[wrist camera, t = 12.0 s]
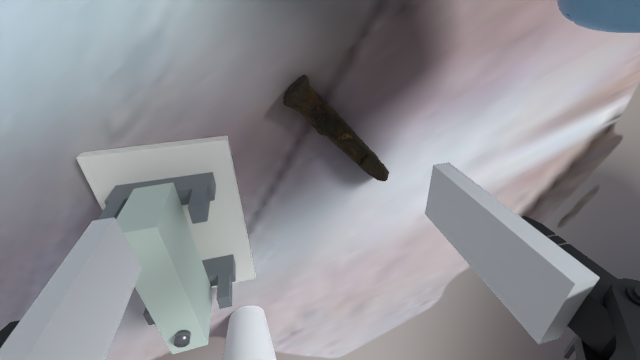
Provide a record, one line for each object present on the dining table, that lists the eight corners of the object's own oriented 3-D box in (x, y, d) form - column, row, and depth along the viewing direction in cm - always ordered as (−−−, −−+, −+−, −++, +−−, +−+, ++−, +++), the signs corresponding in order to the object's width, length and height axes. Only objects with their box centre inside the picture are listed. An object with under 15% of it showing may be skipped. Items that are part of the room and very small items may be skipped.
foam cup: (264, 333, 57) (272, 410, 46) (215, 334, 53) (210, 416, 42) (279, 300, 53) (290, 374, 42) (227, 297, 49) (225, 378, 38)
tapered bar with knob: (173, 182, 32) (154, 234, 24) (212, 290, 41) (207, 353, 34) (133, 188, 31) (101, 244, 24) (183, 297, 40) (170, 362, 33)
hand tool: (278, 95, 35) (283, 105, 32) (301, 71, 35) (310, 78, 31) (364, 182, 45) (377, 198, 41) (384, 164, 45) (398, 179, 41)
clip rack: (227, 135, 36) (225, 167, 28) (255, 271, 48) (259, 319, 40) (82, 152, 33) (36, 193, 25) (150, 293, 45) (133, 349, 37)
